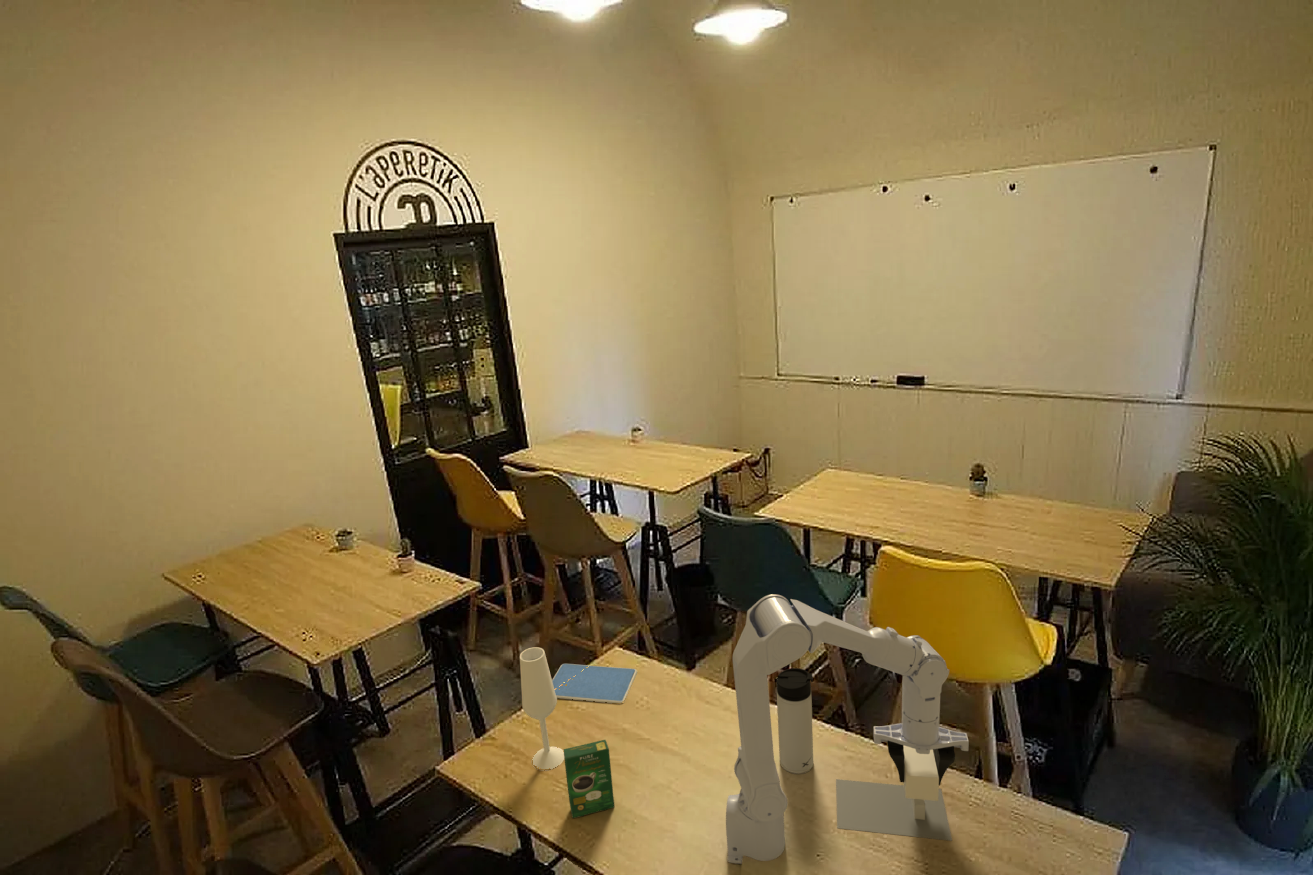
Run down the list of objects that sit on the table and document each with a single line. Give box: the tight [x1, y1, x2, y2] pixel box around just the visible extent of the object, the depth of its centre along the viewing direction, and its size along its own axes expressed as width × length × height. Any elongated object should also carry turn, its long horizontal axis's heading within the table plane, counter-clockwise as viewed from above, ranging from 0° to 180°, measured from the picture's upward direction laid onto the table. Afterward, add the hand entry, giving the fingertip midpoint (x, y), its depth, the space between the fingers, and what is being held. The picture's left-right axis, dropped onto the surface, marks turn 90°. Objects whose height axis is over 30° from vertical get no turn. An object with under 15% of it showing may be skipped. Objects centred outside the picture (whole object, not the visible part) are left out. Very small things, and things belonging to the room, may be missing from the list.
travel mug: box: [775, 667, 814, 775], centre depth 130 cm, size 6×7×20 cm
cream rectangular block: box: [902, 745, 940, 801], centre depth 117 cm, size 5×7×4 cm
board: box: [835, 778, 953, 842], centre depth 120 cm, size 18×11×4 cm, turn 77°
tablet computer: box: [552, 663, 638, 704], centre depth 162 cm, size 19×13×1 cm, turn 76°
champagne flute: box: [519, 646, 565, 770], centre depth 137 cm, size 7×7×24 cm
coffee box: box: [563, 739, 615, 819], centre depth 125 cm, size 8×3×13 cm, turn 104°
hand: (919, 779), depth 117 cm, fingers closed on cream rectangular block, 5 cm apart
